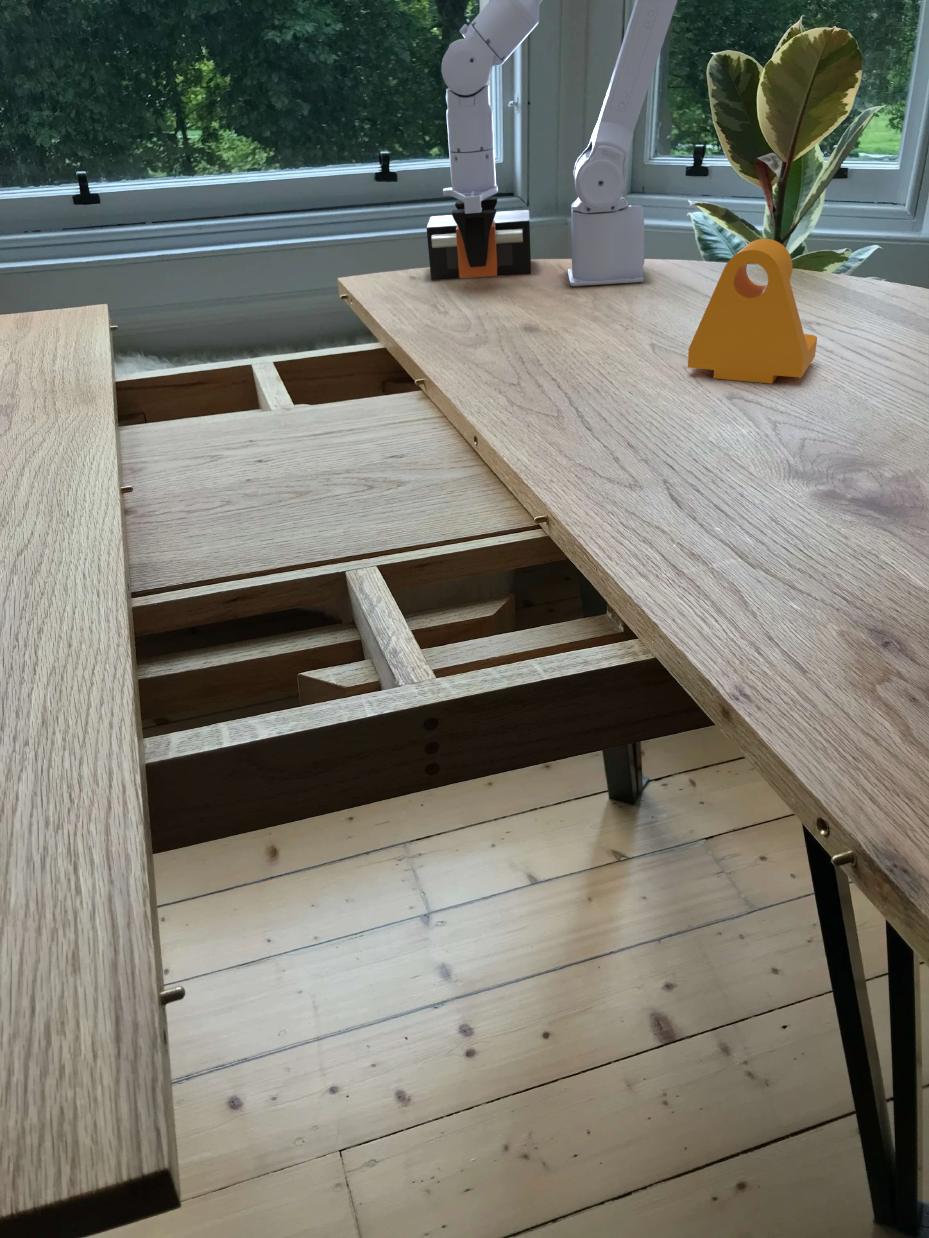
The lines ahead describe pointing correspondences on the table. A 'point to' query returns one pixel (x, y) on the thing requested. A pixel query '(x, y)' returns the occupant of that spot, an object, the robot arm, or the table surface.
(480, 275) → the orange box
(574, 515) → the table surface
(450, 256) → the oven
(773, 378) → the bracket
